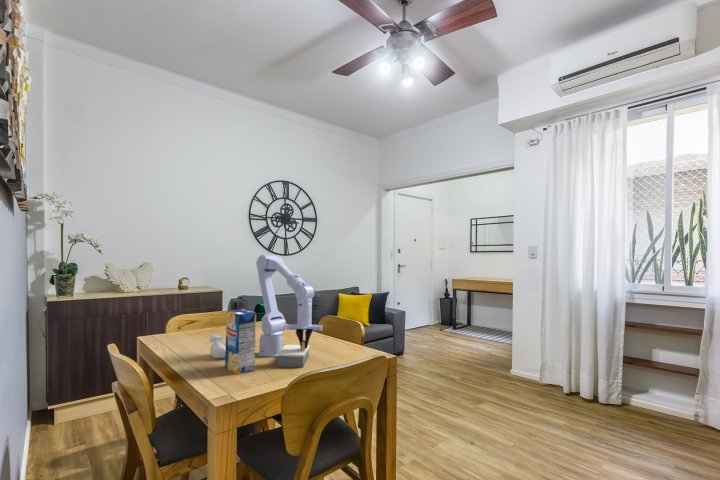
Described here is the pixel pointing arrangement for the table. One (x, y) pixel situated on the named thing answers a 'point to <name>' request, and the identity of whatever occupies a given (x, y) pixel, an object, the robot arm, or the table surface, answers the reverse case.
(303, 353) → the carton lid
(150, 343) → the table surface
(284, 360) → the carton
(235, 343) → the beverage box
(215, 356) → the bust
